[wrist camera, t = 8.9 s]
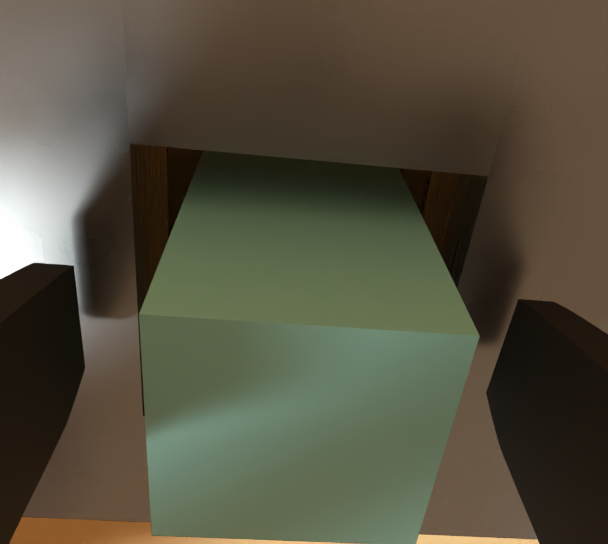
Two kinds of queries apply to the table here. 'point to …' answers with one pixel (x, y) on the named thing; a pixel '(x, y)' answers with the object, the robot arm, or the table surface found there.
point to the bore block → (310, 146)
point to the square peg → (299, 356)
